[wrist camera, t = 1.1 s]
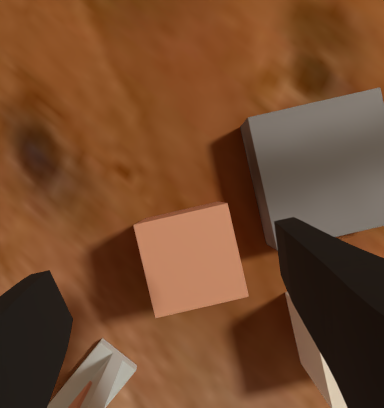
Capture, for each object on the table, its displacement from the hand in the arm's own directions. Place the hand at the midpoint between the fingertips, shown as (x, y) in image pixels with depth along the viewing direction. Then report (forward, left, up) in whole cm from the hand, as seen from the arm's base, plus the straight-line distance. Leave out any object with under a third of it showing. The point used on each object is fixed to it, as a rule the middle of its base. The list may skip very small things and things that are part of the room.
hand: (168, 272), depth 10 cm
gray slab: (+2, -10, -12) cm, 15 cm away
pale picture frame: (-9, +8, -12) cm, 17 cm away
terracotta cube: (-1, -1, -12) cm, 12 cm away
